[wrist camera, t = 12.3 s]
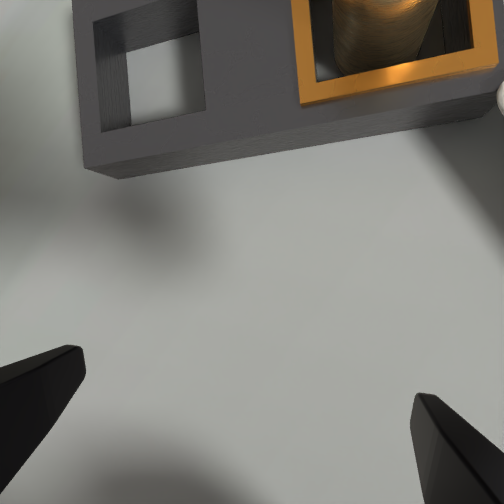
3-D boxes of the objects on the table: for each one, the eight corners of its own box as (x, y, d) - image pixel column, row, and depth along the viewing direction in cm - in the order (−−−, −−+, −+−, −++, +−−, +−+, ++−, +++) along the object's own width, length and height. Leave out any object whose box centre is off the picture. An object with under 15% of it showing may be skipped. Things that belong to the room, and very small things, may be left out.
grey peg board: (461, -80, 17) (490, -159, 13) (481, 117, 16) (516, 84, 13) (107, 30, 22) (67, -7, 19) (118, 179, 22) (80, 166, 19)
